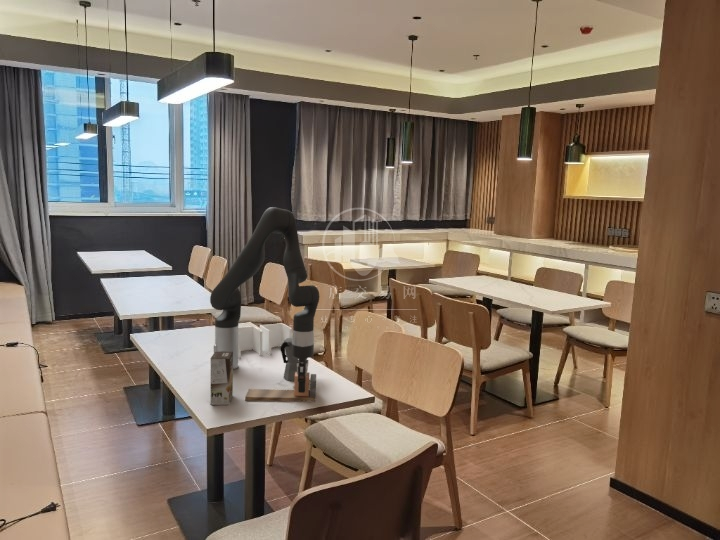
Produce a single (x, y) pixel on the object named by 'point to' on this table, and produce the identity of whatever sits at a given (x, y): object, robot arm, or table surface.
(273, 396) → the rail
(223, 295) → the robot arm
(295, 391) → the tan tall block
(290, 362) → the coffeepot
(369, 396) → the table surface
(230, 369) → the coffee box
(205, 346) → the table surface
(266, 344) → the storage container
